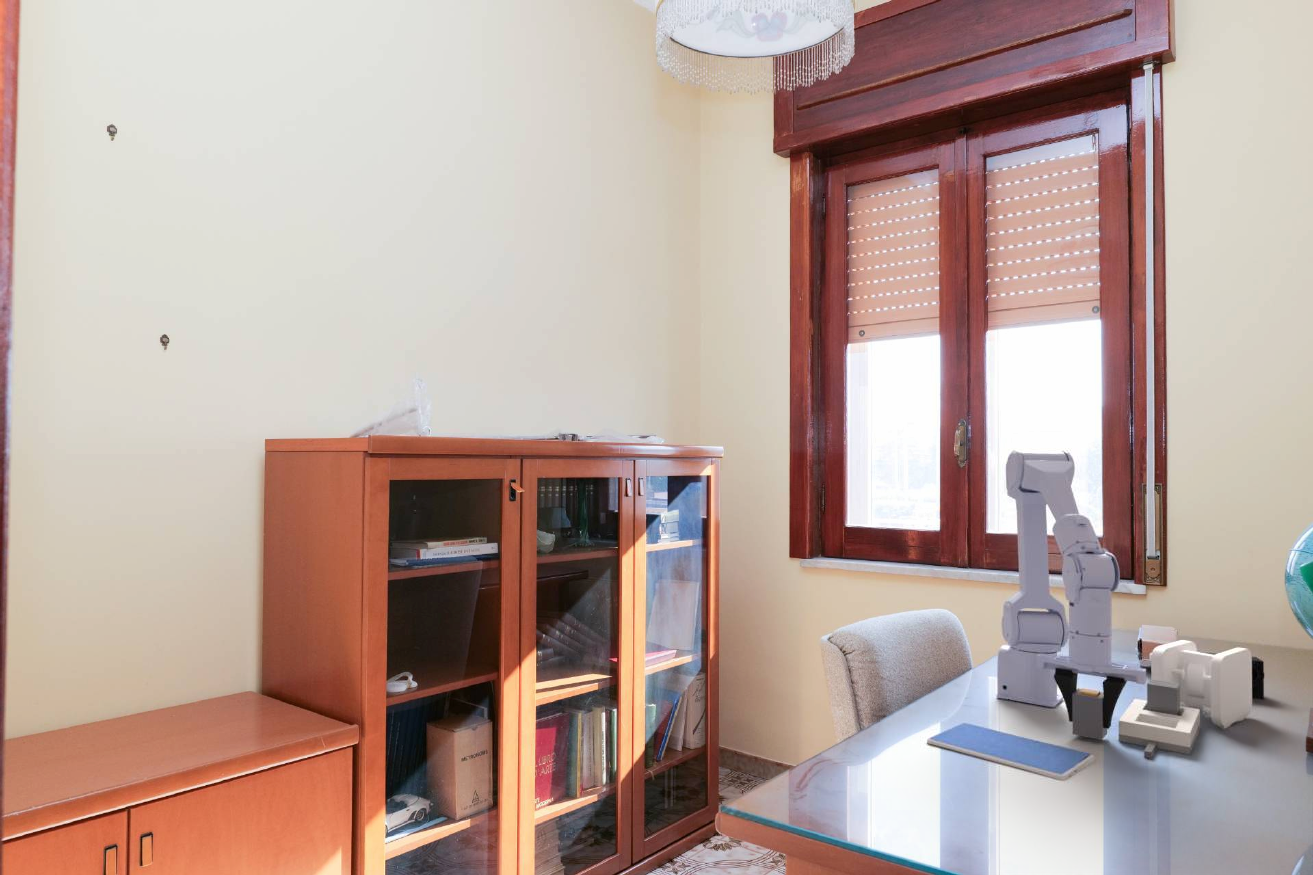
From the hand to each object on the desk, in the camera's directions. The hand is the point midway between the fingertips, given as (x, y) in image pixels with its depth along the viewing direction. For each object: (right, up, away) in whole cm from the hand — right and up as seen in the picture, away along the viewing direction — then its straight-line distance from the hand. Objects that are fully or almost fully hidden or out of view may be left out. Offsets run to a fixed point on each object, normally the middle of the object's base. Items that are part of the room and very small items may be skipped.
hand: (1089, 723), depth 124 cm
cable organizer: (+25, -4, +13) cm, 29 cm away
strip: (+11, -2, 0) cm, 11 cm away
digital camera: (+41, -5, +28) cm, 50 cm away
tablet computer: (-15, -2, -6) cm, 17 cm away
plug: (0, -2, 0) cm, 2 cm away
